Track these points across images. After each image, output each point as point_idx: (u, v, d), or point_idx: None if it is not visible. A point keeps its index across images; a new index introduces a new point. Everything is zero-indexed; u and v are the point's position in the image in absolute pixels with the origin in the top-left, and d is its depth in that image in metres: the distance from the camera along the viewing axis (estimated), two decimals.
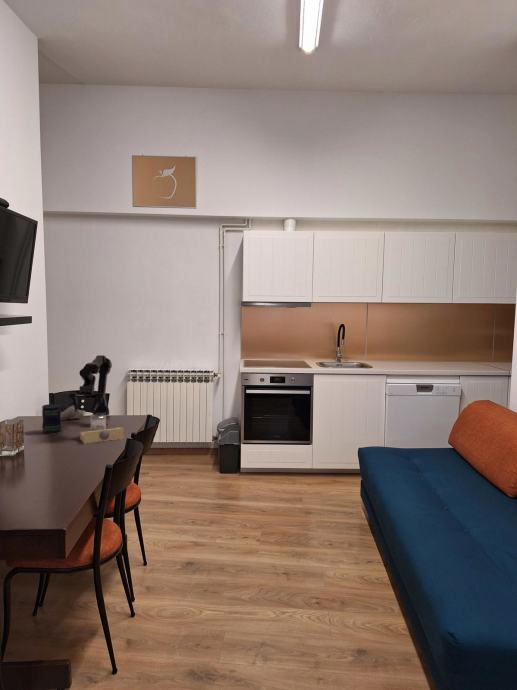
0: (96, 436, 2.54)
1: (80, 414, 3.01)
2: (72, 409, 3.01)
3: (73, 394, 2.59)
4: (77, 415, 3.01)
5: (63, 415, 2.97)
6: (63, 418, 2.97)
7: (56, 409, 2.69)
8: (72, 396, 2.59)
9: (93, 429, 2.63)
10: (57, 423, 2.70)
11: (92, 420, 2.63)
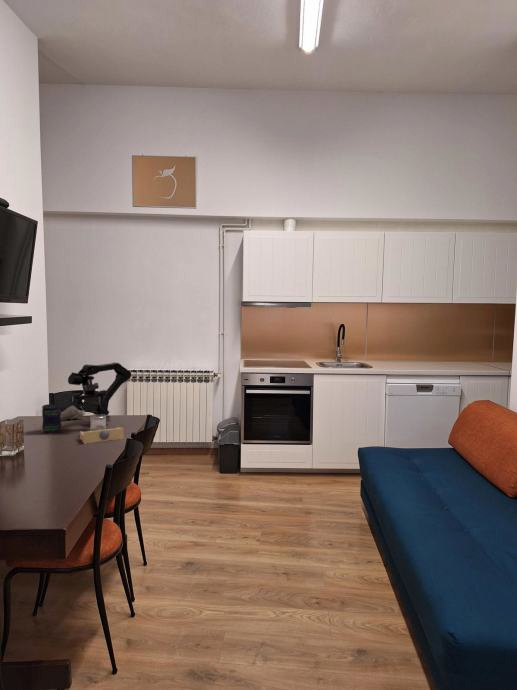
0: (96, 436, 2.54)
1: (80, 414, 3.01)
2: (72, 409, 3.00)
3: (78, 394, 2.71)
4: (77, 415, 3.01)
5: (63, 415, 2.97)
6: (63, 418, 2.97)
7: (56, 409, 2.69)
8: (78, 396, 2.70)
9: (93, 429, 2.63)
10: (57, 423, 2.70)
11: (92, 420, 2.63)
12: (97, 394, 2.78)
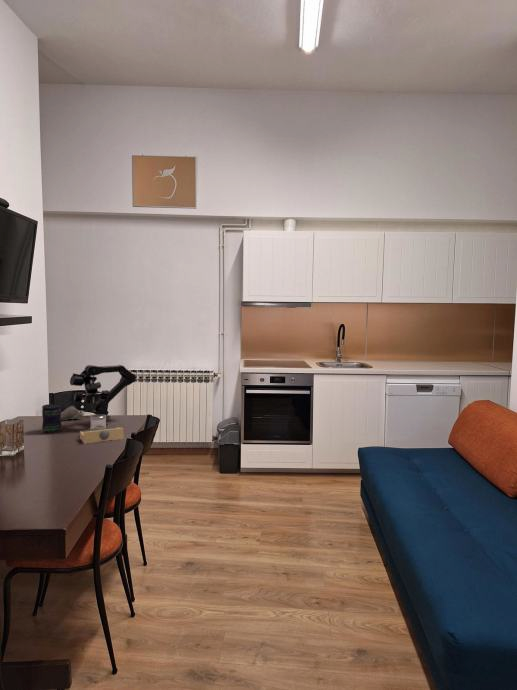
0: (96, 436, 2.54)
1: (79, 414, 3.00)
2: (71, 409, 3.00)
3: (81, 393, 2.73)
4: (76, 415, 3.00)
5: (62, 415, 2.97)
6: (62, 418, 2.97)
7: (56, 409, 2.69)
8: (80, 395, 2.72)
9: (93, 429, 2.63)
10: (57, 423, 2.70)
11: (92, 420, 2.63)
12: (99, 394, 2.80)
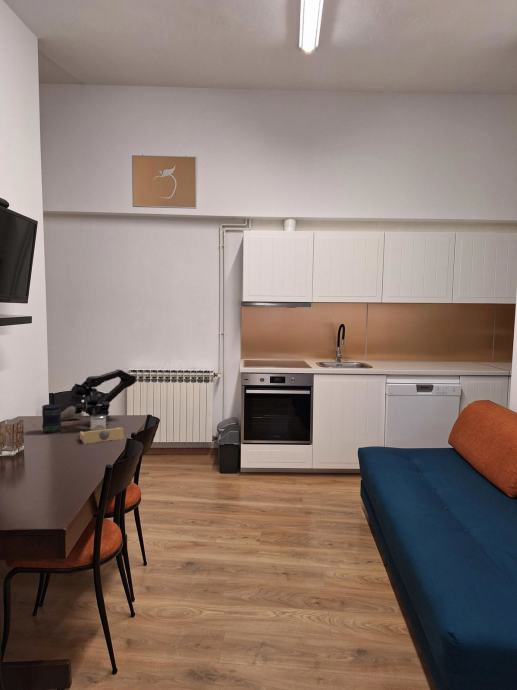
0: (96, 436, 2.54)
1: (79, 415, 3.00)
2: (71, 409, 3.00)
3: (81, 405, 2.73)
4: (76, 415, 3.00)
5: (61, 415, 2.96)
6: (61, 418, 2.96)
7: (56, 409, 2.69)
8: (81, 407, 2.72)
9: (93, 429, 2.63)
10: (57, 423, 2.70)
11: (92, 420, 2.63)
12: (99, 405, 2.80)
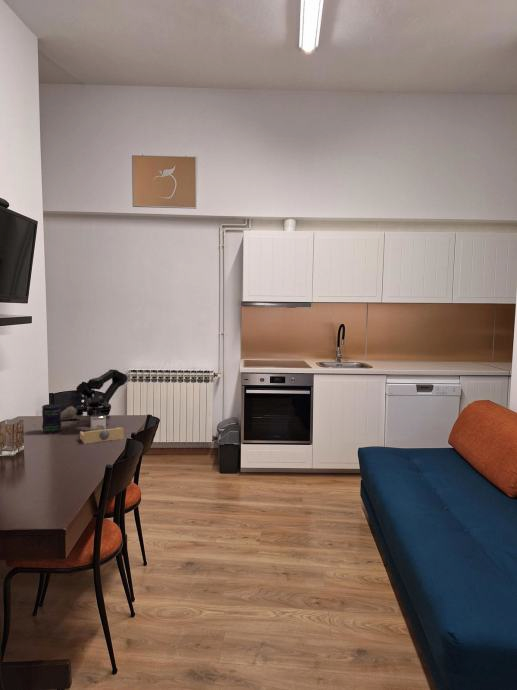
0: (96, 436, 2.54)
1: (78, 415, 2.99)
2: (70, 410, 2.99)
3: (82, 407, 2.69)
4: (75, 416, 2.99)
5: (61, 415, 2.96)
6: (61, 418, 2.96)
7: (56, 409, 2.69)
8: (82, 408, 2.69)
9: (93, 429, 2.63)
10: (57, 423, 2.70)
11: (92, 420, 2.63)
12: (101, 407, 2.77)
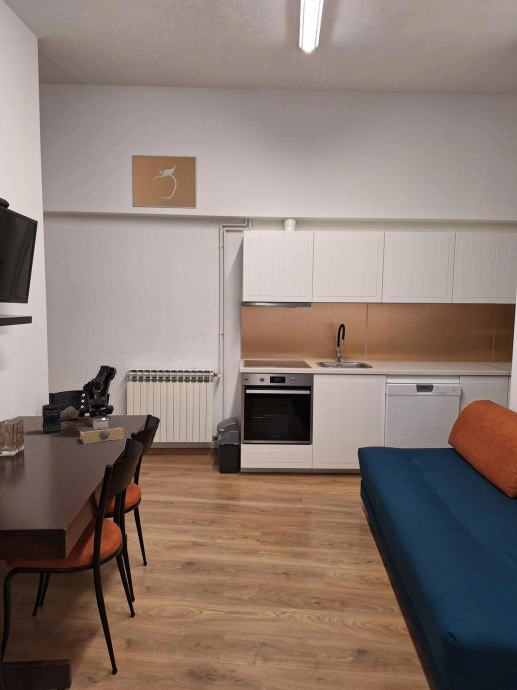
0: (96, 436, 2.54)
1: (77, 415, 2.99)
2: (70, 410, 2.99)
3: (84, 408, 2.65)
4: (75, 416, 2.99)
5: None
6: None
7: (56, 409, 2.69)
8: (84, 410, 2.64)
9: None
10: (57, 423, 2.70)
11: (94, 422, 2.59)
12: (103, 409, 2.72)
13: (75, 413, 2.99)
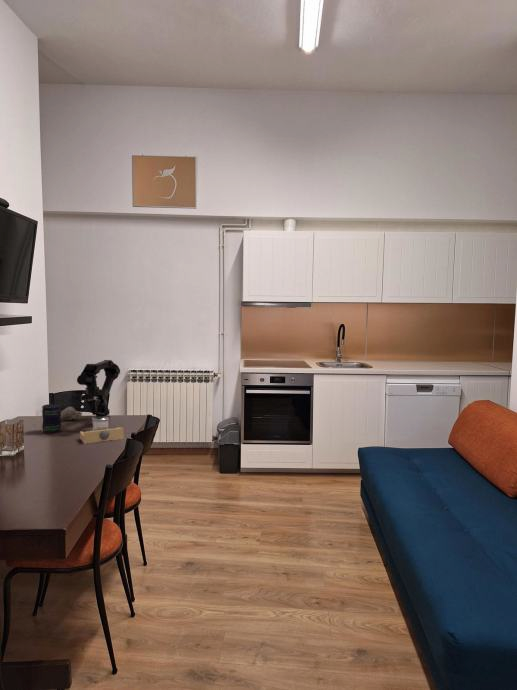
0: (96, 436, 2.54)
1: (77, 415, 2.98)
2: (69, 410, 2.98)
3: (93, 396, 2.69)
4: (74, 416, 2.98)
5: None
6: None
7: (56, 409, 2.69)
8: (93, 398, 2.69)
9: None
10: (57, 423, 2.70)
11: (94, 422, 2.59)
12: None
13: (74, 413, 2.98)
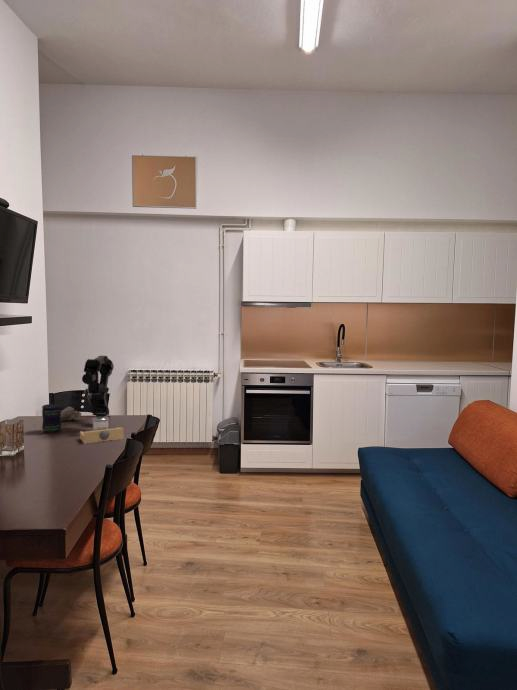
0: (96, 436, 2.54)
1: (76, 415, 2.97)
2: (68, 410, 2.98)
3: None
4: (73, 416, 2.97)
5: None
6: None
7: (56, 409, 2.69)
8: None
9: None
10: (57, 423, 2.70)
11: (94, 422, 2.59)
12: None
13: (73, 413, 2.97)
